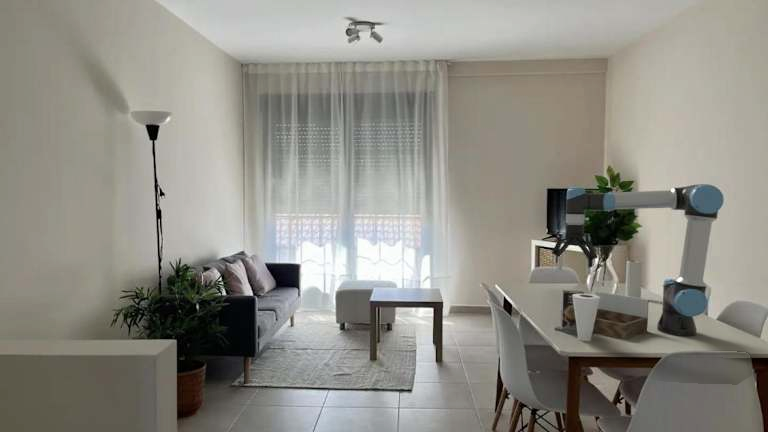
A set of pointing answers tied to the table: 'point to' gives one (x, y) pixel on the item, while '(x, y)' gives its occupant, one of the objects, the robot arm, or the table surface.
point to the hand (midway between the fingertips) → (573, 272)
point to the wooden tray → (619, 324)
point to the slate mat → (566, 330)
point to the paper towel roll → (633, 279)
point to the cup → (585, 314)
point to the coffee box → (568, 310)
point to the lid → (623, 304)
